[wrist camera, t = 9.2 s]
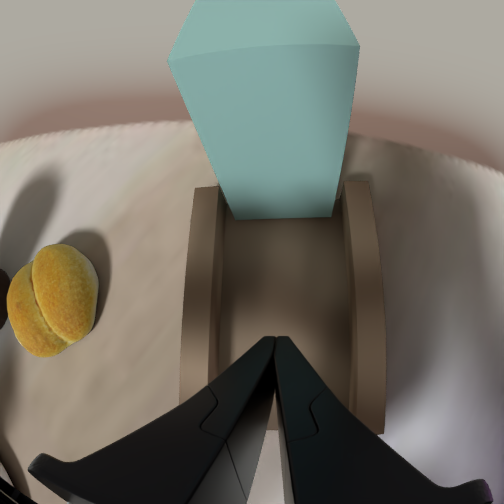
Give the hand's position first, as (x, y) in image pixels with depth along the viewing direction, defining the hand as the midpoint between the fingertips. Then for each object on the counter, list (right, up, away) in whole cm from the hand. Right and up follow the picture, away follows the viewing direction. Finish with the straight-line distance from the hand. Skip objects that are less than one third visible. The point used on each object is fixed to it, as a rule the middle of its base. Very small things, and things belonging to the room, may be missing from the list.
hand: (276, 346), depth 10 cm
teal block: (+1, +8, +10) cm, 13 cm away
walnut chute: (+1, 0, +7) cm, 8 cm away
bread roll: (-16, -1, +10) cm, 19 cm away
